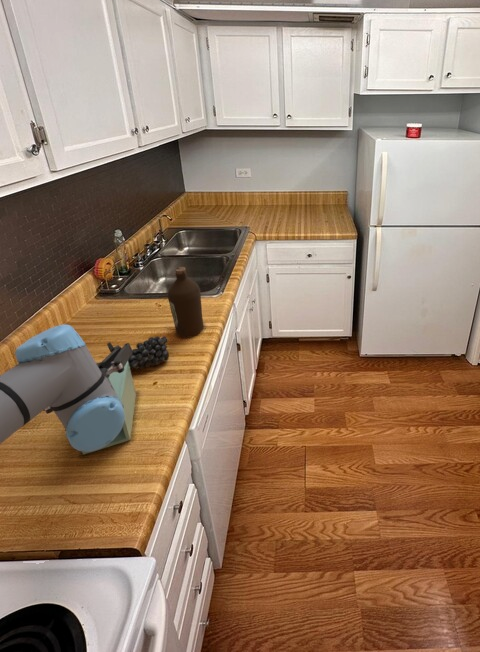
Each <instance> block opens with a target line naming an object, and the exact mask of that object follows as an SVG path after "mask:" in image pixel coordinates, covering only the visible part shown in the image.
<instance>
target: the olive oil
mask: <svg viewBox="0 0 480 652" xmlns="http://www.w3.org/2000/svg"><path fill="white" fill-rule="evenodd" d="M174 271H175V277H176V279H175V280H174V282H172V284H171V285H170V286H169V288H168V291H167V299H168V300H167V301H168V304H169V309H170V312H171V315H172V320H173V324H174V329H175V333H176V335H177V336H178V337H180V338H191V337H195V336H197V335H199V334H200V333H202V331H203V329H204V320H203V307H202V296H201V288H200V286H199V285H198V284H199V283H197V282H196V281H195V280H193V279H191V278H189V277H188V273H187V271H186V267H185V266H179V267H176V268H175V270H174Z"/></svg>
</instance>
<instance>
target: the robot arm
mask: <svg viewBox="0 0 480 652" xmlns="http://www.w3.org/2000/svg"><path fill="white" fill-rule="evenodd" d="M106 345H107V348H108V350H109V351H110V353H109V354H108V355H107V356H106V357H105V358H103V360H101V361H100V362H96V361H95V359H94V357H93V355H92V353H91V351H90V350H89V348H88V346H87V344H86V342H85V341H84V340H83V339H82V337H81V336H80V334H79V333H78V332H77V331H76V330H75V328H74V327H73V326H71V325H69V324H59V325H55V326H52V327H50V328H48V329H45V330H43V331H42V332H40V333H38V334H36V335H34V336H32V337H30V338H29V339H27V340H25V342H23V343H22V344H20V345H19V346H17V348H16V349H15V351H14V355H15V358H16V363H17V364H15V365H14V366H13V367H11V368H9V369H8V370H7V371H5V372H3V373H2V374H1V375H0V445H1V444H3V443H4V442H5V441H6V440H7V439H9V438H10V437H11V436H12V435H14V434H15V433H16V432H18V431H19V429H21V428H23V427H24V426H25V425H27V424H28V423H29V422H30V421H32V420H33V419H34V418H36V417H37V416H38V415H39V414H41V413H42V412H45V413H46V414H47V415H48V414H50V413H52V412H54V414H55V415H56V417H57V418H58V420H59V421H60V423H61V425H63V428H64V432H65V437H66V439H67V440H68V443H69V444H70V447H72V448H73V449H75V450H76V451H78V452H81V453H82V452H90V453H92V452H91V451H94V452H96V451H95V450H97V451H99V450H98V449H100V450H102V449H101V448H103V447H104V446H106V445H108V444H109V443H110V442H112V441H113V440H114V439H115V438H116V437H117V435H118V434H119V432H120V431H121V429H122V427H123V424H124V420H125V414H124V410H123V408H124V406H123V404H122V403H121V401H120V400H119V398H118V396H117V395H116V393H115V391H114V388H113V386H112V384H111V382H110V380H109V376H110V374H111V373H113V372H118V373H121V372H123V371H124V366H125V365H126V363H127V361H128V360H129V358H130V356H131V355H132V353H133V351H132V350H133V348H132V346H131V344H130V343H129V342H126V343H125V344H123V345H122V347H121V346H120V345H119V344H117V345H115V346H113V344H112V343H111V341H109V342H108V343H106ZM103 449H104V448H103Z"/></svg>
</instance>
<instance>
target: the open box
mask: <svg viewBox="0 0 480 652" xmlns="http://www.w3.org/2000/svg"><path fill="white" fill-rule="evenodd" d="M109 380H110V382H111V384H112V386H113V388H114V391H115V393H116V395H117V396H118V398H119V400H120V401H121V403H122V404H123V406H124V408H123V410H124V414H125V420H124V424H123V427H122V429H121V431H120V432H119V434H118V435H117V437H116V438H115V439H114V440H113V441H112V442H110V443H109V444H108V445H106V446H104V447H103V448H101V449H98V450H95V451H91V452H82V451H81V453H82V455H86V454H90V453H93V452H94V453H95V452H96V451H100V450H103V449H107V448H109V447H113V446H117V445H119V444H122V443H126V442H129V441H131V438H132V437H131V436H132V430H133V423H134V413H135V407H136V398H137V391H136V387H135V383H134V379H133V374H132V370H131V371H130V367H129V363H128V361H127V363H126V365H125V366H124V371H123V372H121V373H118V372H113V373H111V374H110V376H109Z"/></svg>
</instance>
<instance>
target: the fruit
mask: <svg viewBox="0 0 480 652" xmlns="http://www.w3.org/2000/svg"><path fill="white" fill-rule="evenodd" d="M167 343H168V338H167V336H166V335H164V336H161V337H160V336H159V335H158V336H154V337H153V336H149V337H148V339H147V340H144V341H143V342H138V343H137V344H136V346H135V347H136V348H132V351H133V353H132V355H131V356H130V358H129V360H128V363H129V367H130V371H131V372H132V370H133V369H140V370H143V369H144V368H145V367H146V368H148V367H150V366H155V365H156V366H158V365H160V363H164V362H166V361H168V360H169V358H170V353H169V351H168V348H171V345H167Z"/></svg>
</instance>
